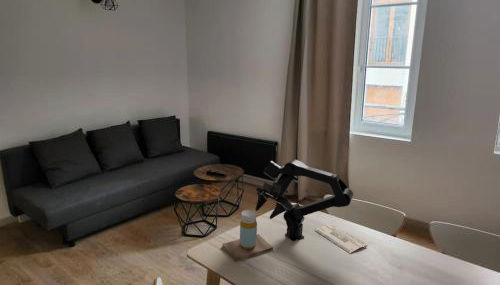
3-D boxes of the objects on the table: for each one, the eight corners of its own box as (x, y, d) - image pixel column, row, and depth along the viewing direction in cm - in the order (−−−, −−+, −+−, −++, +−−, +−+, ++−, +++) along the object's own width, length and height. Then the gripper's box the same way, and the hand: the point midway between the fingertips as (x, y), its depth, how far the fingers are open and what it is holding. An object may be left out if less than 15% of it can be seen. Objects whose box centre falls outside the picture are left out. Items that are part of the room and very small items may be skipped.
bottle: (254, 250, 143) (255, 218, 139) (238, 248, 144) (238, 215, 140) (257, 242, 149) (258, 210, 146) (241, 239, 151) (242, 208, 147)
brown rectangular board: (258, 237, 156) (258, 234, 156) (272, 250, 146) (272, 247, 146) (222, 246, 148) (222, 243, 147) (234, 261, 138) (234, 258, 137)
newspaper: (369, 247, 152) (369, 242, 151) (350, 257, 146) (350, 252, 145) (332, 224, 170) (332, 220, 169) (313, 233, 164) (313, 228, 163)
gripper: (259, 169, 154) (239, 198, 150) (289, 182, 140) (268, 214, 136) (271, 182, 161) (252, 209, 157) (301, 195, 147) (281, 226, 143)
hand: (262, 214), depth 148 cm, fingers open, 9 cm apart
